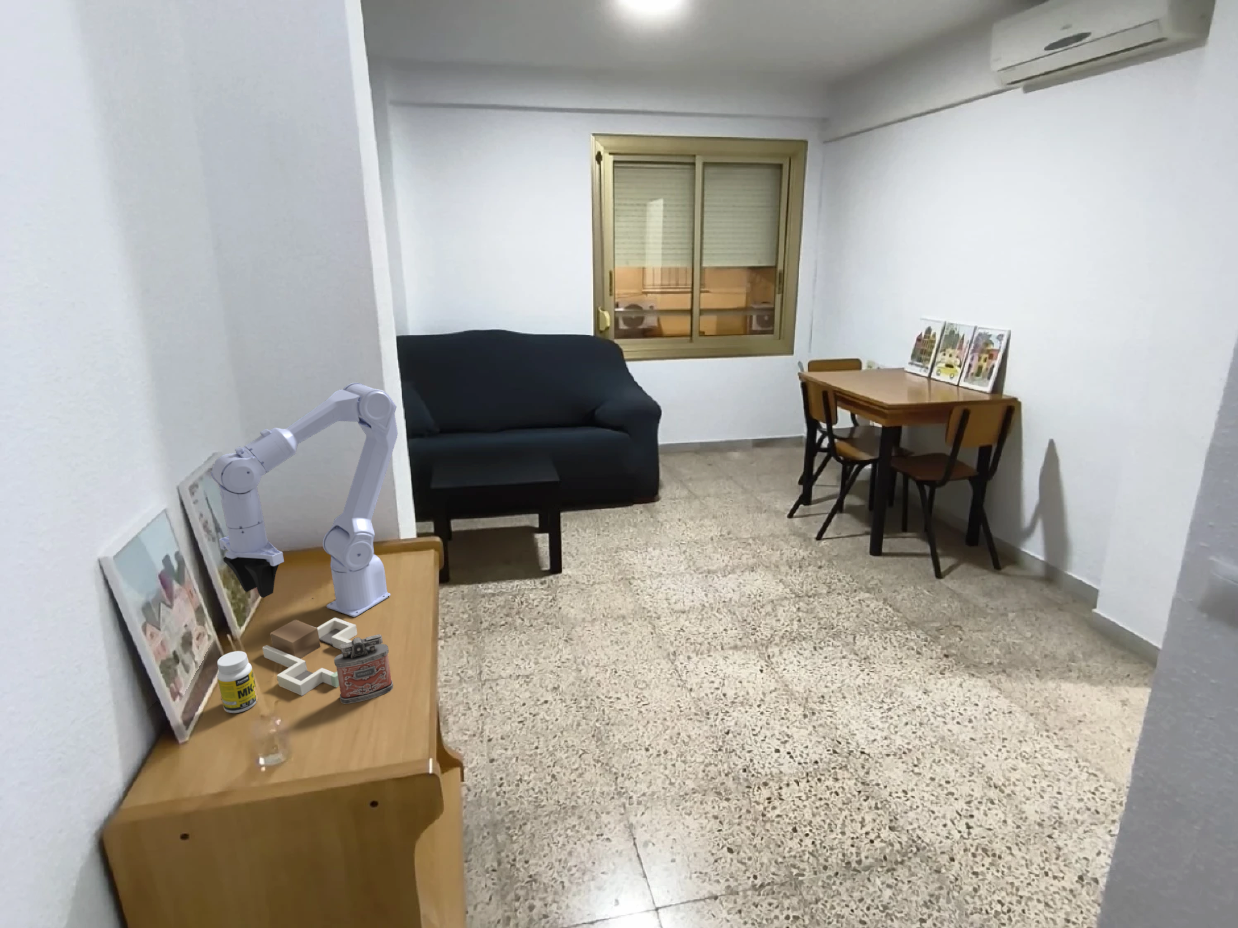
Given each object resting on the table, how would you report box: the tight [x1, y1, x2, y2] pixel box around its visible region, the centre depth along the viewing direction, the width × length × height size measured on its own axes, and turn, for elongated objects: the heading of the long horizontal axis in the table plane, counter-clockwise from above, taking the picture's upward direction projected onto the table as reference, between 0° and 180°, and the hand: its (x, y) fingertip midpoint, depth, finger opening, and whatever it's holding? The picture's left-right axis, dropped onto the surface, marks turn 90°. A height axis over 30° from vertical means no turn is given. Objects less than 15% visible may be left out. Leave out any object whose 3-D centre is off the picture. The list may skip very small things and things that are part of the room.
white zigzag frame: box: [262, 617, 358, 697], centre depth 116 cm, size 17×18×2 cm
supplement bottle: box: [216, 650, 257, 714], centre depth 104 cm, size 5×5×8 cm
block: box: [270, 619, 321, 659], centre depth 118 cm, size 5×6×4 cm
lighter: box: [333, 633, 394, 705], centre depth 106 cm, size 8×3×10 cm, turn 117°
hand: (258, 592), depth 119 cm, fingers open, 4 cm apart
